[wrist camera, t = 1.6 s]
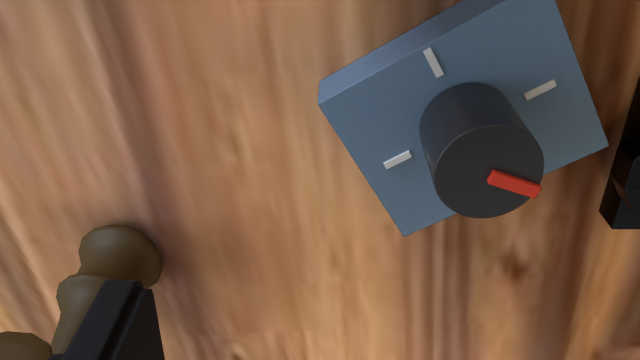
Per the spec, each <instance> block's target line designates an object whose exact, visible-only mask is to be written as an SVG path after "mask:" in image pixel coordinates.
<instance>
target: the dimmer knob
mask: <svg viewBox="0 0 640 360" xmlns="http://www.w3.org/2000/svg"><path fill="white" fill-rule="evenodd" d="M419 135H420V140H421V143H422V147H423V150H424V154H425V157H426V160H427V164H428V167H429V171H430V174H431V178H432V181H433V185H434V188H435V191H436V193H437V195H438V197H439V199H440V200H441V201H442V202H443V203H444V204H445V205H446V206H447V207H448V208H449V209H451V210H452V211H454V212H456V213H458V214H461V215H463V216H467V217H472V218H491V217H496V216H500V215H503V214H506V213H508V212H511V211H513V210H514V209H516V208H518V207H519V206H521V205H522V204H524V203H525V202H526V201H527V200H528V199H529V198H530V197H531V198H534V199H535V198H536V196H537V195H538V193H539V192H540V190H541V189H542V188H541V186H540V185H539V184H540V182H541V180H542V177H543V173H544V156H543V152H542V150H541V147H540V146H539V144H538V142H537V141H536V139H535V138H534V137H533V135H532V134H531V132H530V131H529V129H528V128H527V126H526V125H525V124H524V122H523V121H522V119H521V118H520V116H519V115H518V113H517V112H516V111H515V109H514V108H513V106H512V105H511V103H510V102H509V101H508V99H507V98H506V97H505V96H504V94H502V93H501V92H500V91H499V90H497V89H496V88H494V87H492V86H489V85H486V84H483V83H462V84H458V85H455V86H452V87H450V88H448V89H446V90H444V91H442V92H441V93H439V94H438V95H437V96H436V97H434V99H433V100H432V101H431V102H430V103H429V104H428V106H427V107H426V109H425V110H424V112H423V115H422V117H421V120H420V126H419Z"/></svg>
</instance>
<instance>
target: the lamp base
mask: <svg viewBox="0 0 640 360" xmlns="http://www.w3.org/2000/svg"><path fill="white" fill-rule="evenodd" d="M599 212H600V213H601V215H602V216H603V218H604V219H605V220H606V222H607V223H608V224H609V226H610V227H611V228H612V229H640V77H639V80H638V84H637V87H636V90H635V94H634V97H633V100H632V104H631V107H630V110H629V113H628V117H627V120H626V123H625V127H624V130H623V133H622V137H621V140H620V143H619V146H618V148H617V152H616V155H615V158H614V162H613V165H612V168H611V172H610V176H609V180H608V183H607V186H606V189H605V193H604V196H603V199H602V203H601V206H600V209H599Z"/></svg>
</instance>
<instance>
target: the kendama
mask: <svg viewBox="0 0 640 360" xmlns="http://www.w3.org/2000/svg"><path fill="white" fill-rule="evenodd" d="M79 256H80V261H81V267H80V269H79V271H78V272H77V274H76V275H71V276H69V277H68V278H66V279H65V280H63V281H62V282H61V283H59V286H58V290H57V295H56V298H57V301H58V305H59V308H60V311H61V314H60V319H59V322H58V325H57V328H56V331H55V334H54V337H53V340H52V342H51V345H49V343H47V342H45V341H44V340H42V339H41V338H39V337H37V336H36V335H34V334H32V333H21V332H9V331H7V332H2V333H0V360H47V359H48V358H49V357H51V356H52V355H53V354H64V353H65V352H66V350H67V348H68V346H69V344H70V342H71V341H72V339H73V337H74V335H75V333H76V331H77V330H78V328H79V326H80V324H81V322H82V321H83V319H84V317H85V315H86V313H87V311H88V310H89V308H90V306H91V304H92V302H93V301H94V299H95V297H96V295H97V293H98V291H99V290H100V288H101V286H102V284H103V283H104V282H105V281H106V280H107V279H119V280H139V281H141V282H142V284H143V287H144V289H148V288H149V287H151V286H152V285H154V284H155V283H157V282H158V279H159V277H160V274H161V271H162V261H161V255H160V253H159V251H158V250H157V248H156V246H155V244H154V243H153V242H152V241H151V240H150V239H149V238H148V237H147V236H145V235H144V234H143V233H142V232H140V231H137V230H134V229H132V228H129V227H126V226H113V225H108V226H104V227H100V228H95V229H93V230H92V231H91V232H89V233H88V234H87V235H85V236H84V237H83V238H82V240H81V244H80V248H79Z"/></svg>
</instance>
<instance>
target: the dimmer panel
mask: <svg viewBox="0 0 640 360" xmlns="http://www.w3.org/2000/svg"><path fill="white" fill-rule="evenodd" d="M462 83H483V84H486V85H489V86H492V87H494V88H496V89H497V90H499V91H500V92H501V93H502V94H504V96H505V97H506V98H507V99H508V101H509V102H510V103H511V105H512V106H513V108H514V109H515V111H516V112H517V113H518V115H519V116H520V118H521V119H522V121H523V122H524V124H525V125H526V126H527V128H528V129H529V131H530V132H531V134H532V135H533V137H534V138H535V139H536V141H537V142H538V144H539V146H540V147H541V150H542V152H543V156H544V173H543V175H545V174H547V173H549V172H551V171H554V170H556V169H558V168H560V167H563V166H565V165H567V164H569V163H572V162H574V161H576V160H578V159H581V158H583V157H585V156H587V155H590V154H592V153H594V152H597V151H599V150H601V149H603V148H606V147H608V146H609V144H608V141H607V138H606V136H605V133H604V130H603V127H602V125H601V122H600V119H599V117H598V114H597V111H596V109H595V106H594V103H593V100H592V98H591V95H590V92H589V90H588V87H587V84H586V82H585V79H584V76H583V74H582V71H581V68H580V65H579V63H578V60H577V57H576V55H575V52H574V49H573V47H572V44H571V41H570V38H569V36H568V33H567V30H566V28H565V25H564V22H563V20H562V17H561V14H560V11H559V9H558V6H557V3H556V1H555V0H462V1H461V2H459V3H457V4H455V5H454V6H452V7H450V8H448V9H446V10H445V11H443V12H441V13H439V14H438V15H436V16H434V17H432V18H431V19H429V20H427V21H425V22H423V23H422V24H420V25H418V26H416V27H415V28H413V29H411V30H409V31H408V32H406V33H404V34H402V35H401V36H399V37H397V38H395V39H393V40H392V41H390V42H388V43H386V44H385V45H383V46H381V47H379V48H378V49H376V50H374V51H372V52H370V53H369V54H367V55H365V56H363V57H362V58H360V59H358V60H356V61H355V62H353V63H351V64H349V65H347V66H346V67H344V68H342V69H340V70H339V71H337V72H335V73H333V74H332V75H330V76H328V77H326V78H324V79H323V80H321V81H320V83H319V96H318V105H319V107H320V109H321V110H322V112H323V113H324V115H325V116H326V118H327V119H328V121H329V122H330V124H331V125H332V127H333V129H334V130H335V132H336V133H337V135H338V136H339V138H340V139H341V141H342V142H343V144H344V145H345V147H346V149H347V150H348V152H349V153H350V155H351V156H352V158H353V159H354V161H355V162H356V164H357V165H358V167H359V169H360V170H361V172H362V173H363V175H364V176H365V178H366V179H367V181H368V182H369V184H370V186H371V187H372V189H373V190H374V192H375V193H376V195H377V196H378V198H379V199H380V201H381V202H382V204H383V206H384V207H385V209H386V210H387V212H388V213H389V215H390V216H391V218H392V219H393V221H394V222H395V224H396V226H397V227H398V229H399V230H400V232H401V233H402V235H403V236H404V237H405V236H407V235H409V234H412V233H414V232H416V231H418V230H421V229H423V228H425V227H427V226H430V225H432V224H434V223H436V222H439V221H441V220H443V219H445V218H448V217H450V216H452V215H454V214H457V213H456V212H454V211H452V210H451V209H449V208H448V207H447V206H446V205H445V204H444V203H443V202H442V201H441V200H440V199H439V197H438V195H437V193H436V191H435V188H434V185H433V181H432V178H431V174H430V171H429V167H428V164H427V160H426V157H425V154H424V150H423V147H422V143H421V140H420V135H419V126H420V120H421V117H422V115H423V112H424V110H425V109H426V107H427V106H428V104H429V103H430V102H431V101H432V100H433V99H434V97H436V96H437V95H438V94H439V93H441V92H442V91H444V90H446V89H448V88H450V87H452V86H455V85H458V84H462Z"/></svg>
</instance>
